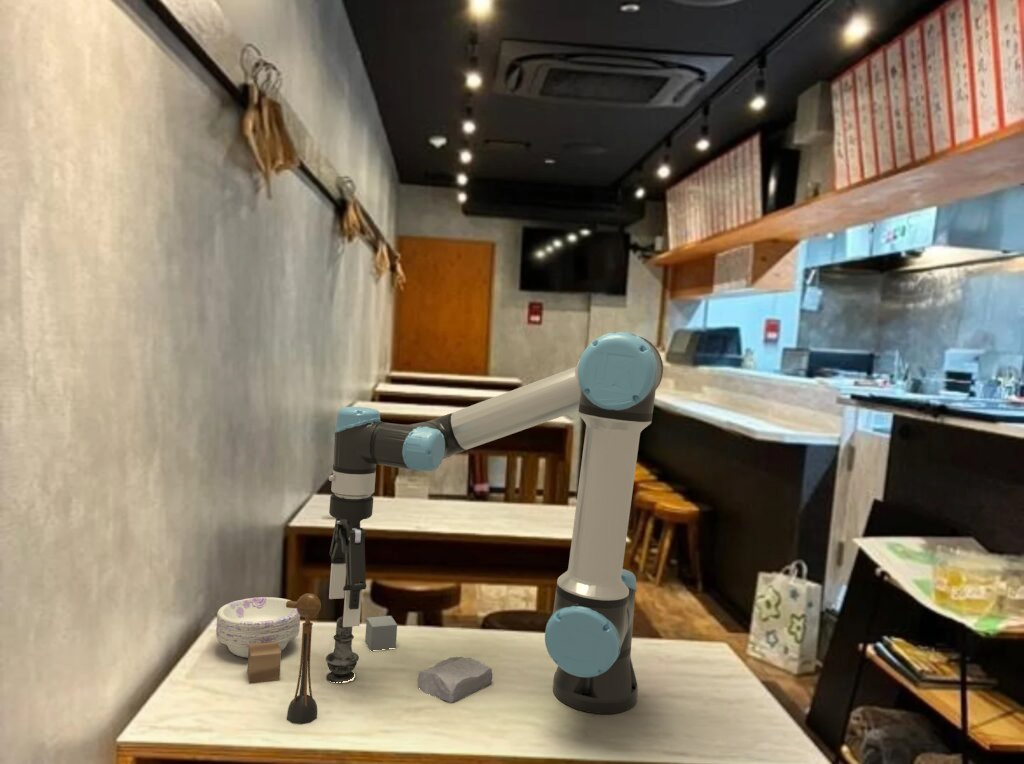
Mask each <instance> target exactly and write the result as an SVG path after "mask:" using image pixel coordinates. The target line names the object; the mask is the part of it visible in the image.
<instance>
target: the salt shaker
mask: <svg viewBox="0 0 1024 764" xmlns="http://www.w3.org/2000/svg"><path fill="white" fill-rule="evenodd" d="M343 615H344V612H343V614H342V616H339V617H338V618H337V620H336V627H335V634H334V635H333V640H334V648H333V651H332V652H330V653H328V654H327V655H326V656H325V661H326V664H327V668H328V670H329V671H330V672H328V673H327V674H326V678H327V679H326V678H325V679H326V680H327V682H329V681H331V682H335V683H336V682H338V683H339V682H341V683H342V682H343V681H348V680H350V679H352V678H353V677H354V673H355V672H354V670H355V668H356V666H357V664H358V661H359V659H360V656H359V655H358V654H357V653H356V652H354V651H353V649H352V645H353V639H354V638H355V636H354V635H353V627H343ZM353 672H354V673H353ZM331 682H330V683H331ZM335 683H334V684H335Z"/></svg>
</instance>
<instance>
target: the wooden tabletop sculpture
mask: <svg viewBox="0 0 1024 764" xmlns="http://www.w3.org/2000/svg"><path fill="white" fill-rule="evenodd" d="M286 607H287V608H295V609H297V611H298V613H299V614H300V617H301V618H305V619H304V620H305V621H304V622H303V623H302V624H301V625H302V633H301V650H300V659H299V660H300V663H299V671H298V678H297V685H296V688H295V692H294V693H295V694H294V698H292V700H291V701H290V703H289V705H288V707H287V713H286V721H288V722H290V723H291V724H296V725H304V724H311V723H312V722H313V721H315V720H316V719H318V705H317V702H316V700H315V699H314V698H313V691H312V686H311V685H312V682H311V680H312V679H311V647H312V634H313V633H312V632H313V625H314V624H313V622H311V619H313V618H316V617H317V616H318V615H319V613H320V611H321V608H322V603H321V600H320V598H319V597H318V596H317V595H316V594H314V593H304V594H302V595H301V596H299V598H298V599H297V601H293V600H291V601H287V603H286ZM307 690H308V691H309V694H308V691H307ZM298 693H299V694H298Z"/></svg>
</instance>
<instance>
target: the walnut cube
mask: <svg viewBox="0 0 1024 764" xmlns="http://www.w3.org/2000/svg"><path fill="white" fill-rule="evenodd" d="M281 657H282V651H280V648H279V644H278V642H271V643H260V644H249V649H248V658H247V669H246V670H247V672H246V673H247V678H248V682H249V683H248V684H258V683H259V684H260V683H269V682H278V681H280V679H281V661H282V660H281V659H282V658H281Z"/></svg>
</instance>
